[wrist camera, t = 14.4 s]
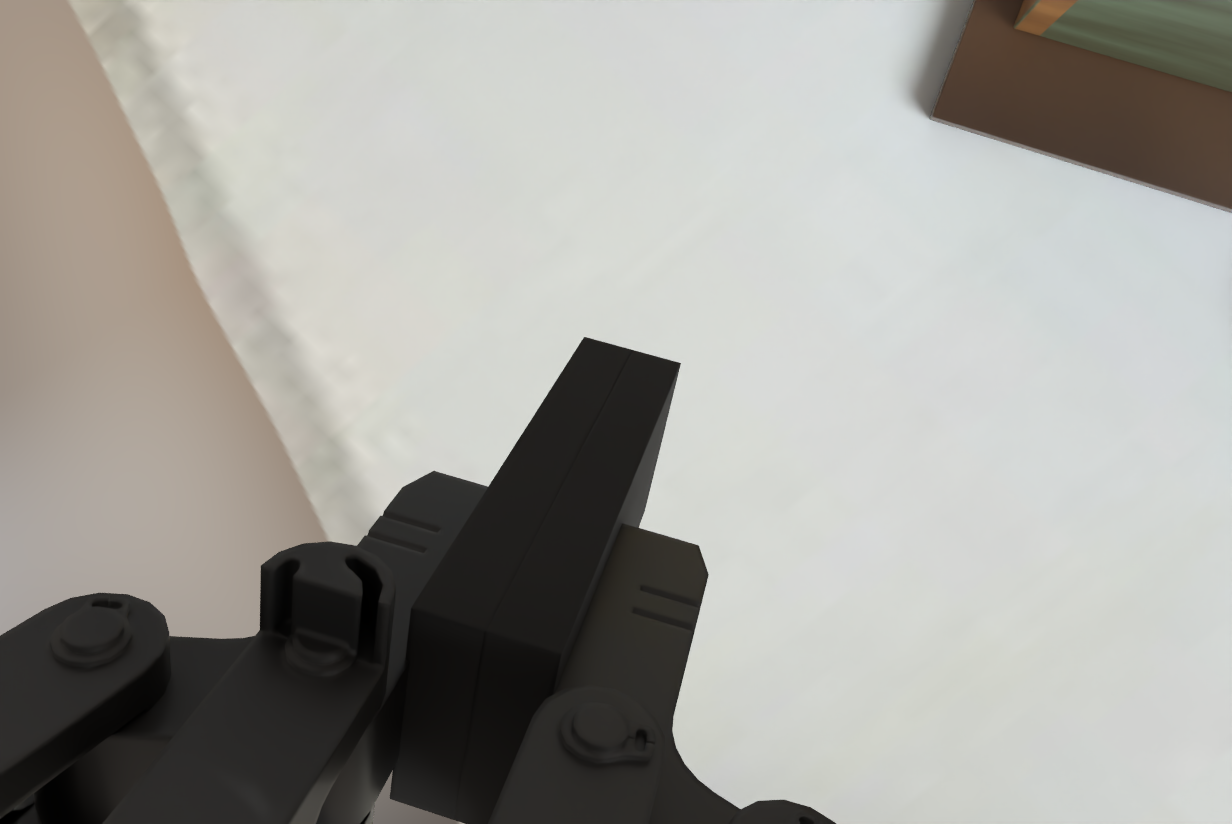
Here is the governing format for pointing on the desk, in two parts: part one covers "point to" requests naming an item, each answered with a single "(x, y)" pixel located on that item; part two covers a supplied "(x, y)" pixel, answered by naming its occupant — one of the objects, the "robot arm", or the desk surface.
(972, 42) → the shelf base
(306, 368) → the desk surface
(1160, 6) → the shelf
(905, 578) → the desk surface
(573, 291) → the desk surface
